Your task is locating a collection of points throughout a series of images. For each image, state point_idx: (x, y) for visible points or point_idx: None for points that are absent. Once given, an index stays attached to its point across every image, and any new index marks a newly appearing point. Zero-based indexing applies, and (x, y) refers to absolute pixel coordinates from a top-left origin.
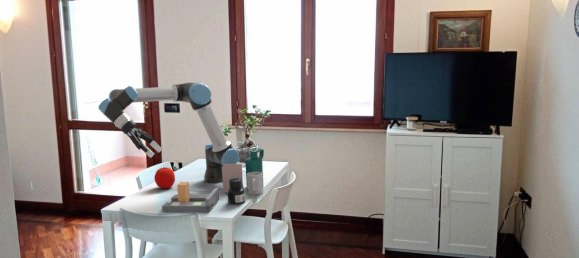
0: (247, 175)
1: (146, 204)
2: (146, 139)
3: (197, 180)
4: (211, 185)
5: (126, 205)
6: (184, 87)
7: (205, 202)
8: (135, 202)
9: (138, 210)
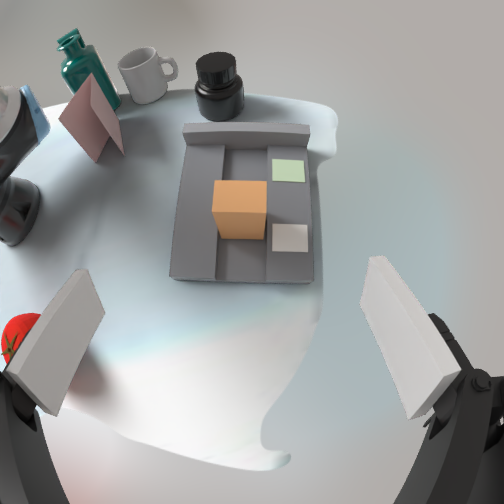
0: (142, 66)
1: (222, 370)
2: (41, 470)
3: (12, 264)
4: (56, 209)
5: (232, 432)
6: None
7: (308, 139)
8: (199, 414)
9: (289, 373)
